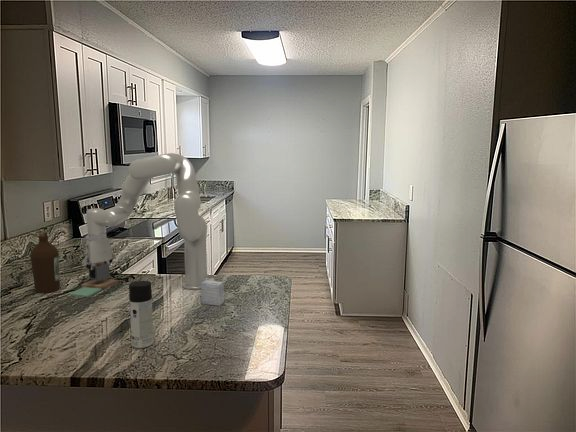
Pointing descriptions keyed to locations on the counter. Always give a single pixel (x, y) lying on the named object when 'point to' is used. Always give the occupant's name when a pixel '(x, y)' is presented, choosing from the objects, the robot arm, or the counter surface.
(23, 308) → the counter surface
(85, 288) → the mat
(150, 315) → the spray can
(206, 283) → the medicine box
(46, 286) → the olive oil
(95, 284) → the post stand
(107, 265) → the gift box
